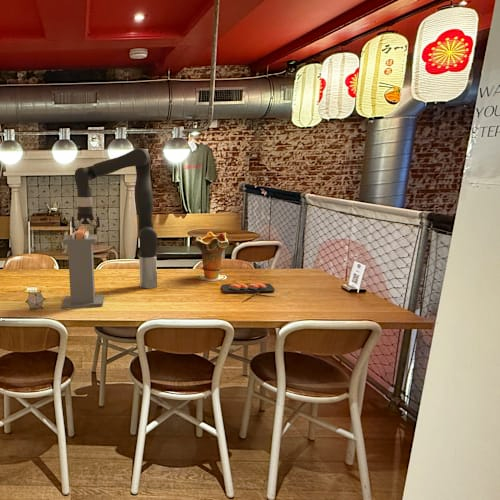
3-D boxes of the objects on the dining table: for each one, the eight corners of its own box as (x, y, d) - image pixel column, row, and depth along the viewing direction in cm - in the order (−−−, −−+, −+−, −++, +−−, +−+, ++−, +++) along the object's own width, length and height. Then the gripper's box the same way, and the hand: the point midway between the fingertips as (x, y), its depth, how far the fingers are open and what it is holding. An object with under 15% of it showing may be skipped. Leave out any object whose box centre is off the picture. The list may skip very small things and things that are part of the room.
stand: (104, 295, 212) (101, 230, 206) (102, 306, 196) (99, 235, 190) (66, 298, 207) (62, 230, 201) (61, 309, 191) (56, 236, 185)
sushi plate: (270, 286, 241) (270, 280, 240) (282, 302, 212) (283, 295, 211) (220, 287, 236) (220, 281, 235) (226, 304, 207) (226, 296, 206)
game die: (31, 316, 191) (17, 300, 189) (46, 305, 197) (32, 289, 195) (38, 311, 185) (23, 294, 183) (53, 300, 191) (39, 283, 189)
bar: (80, 232, 212) (80, 226, 211) (86, 231, 212) (86, 226, 212) (76, 239, 191) (75, 232, 190) (83, 238, 192) (82, 232, 191)
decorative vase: (190, 280, 244) (191, 233, 240) (199, 273, 267) (200, 230, 263) (224, 283, 242) (226, 235, 238) (231, 275, 265) (232, 231, 261)
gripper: (99, 205, 227) (100, 234, 230) (71, 204, 223) (72, 234, 226) (98, 206, 220) (99, 236, 223) (69, 206, 216) (71, 236, 219)
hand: (86, 235), depth 225 cm, fingers open, 8 cm apart
